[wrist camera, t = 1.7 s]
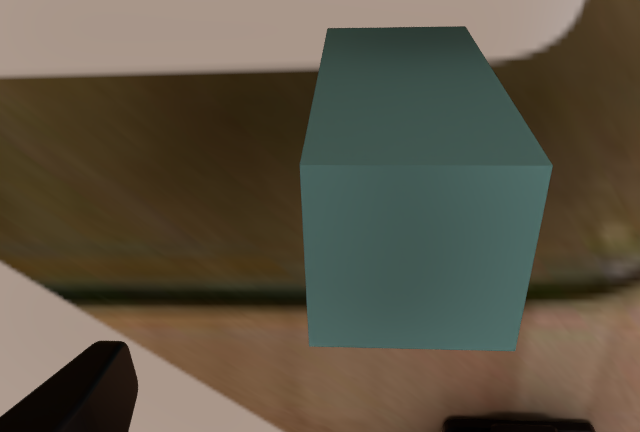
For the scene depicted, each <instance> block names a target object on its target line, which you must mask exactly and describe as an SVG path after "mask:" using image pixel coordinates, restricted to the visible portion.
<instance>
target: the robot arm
mask: <svg viewBox="0 0 640 432" xmlns="http://www.w3.org/2000/svg"><path fill="white" fill-rule="evenodd" d="M137 393H138V380H137V376H136V372H135V369H134V365H133V362H132V358H131V354H130V351H129V348H128V346H127V344H126V343H125V342H122V341H98V342H96V343H94V344H92V345H91V346H90V347H88V348H87V349H86V350H85V351H83V352H82V353H81V354H80V355H78V356H77V357H76V358H74V359H73V360H72V361H71V362H69V363H68V364H67V365H66V366H64V367H63V368H62V369H60V370H59V371H58V372H57V373H56V374H54V375H53V376H52V377H50V378H49V379H48V380H47V381H45V382H44V383H43V384H42V385H40V386H39V387H38V388H36V389H35V390H34V391H33V392H31V393H30V394H29V395H27V396H26V397H25V398H24V399H22V400H21V401H20V402H19V403H17V404H16V405H15V406H13V407H12V408H11V409H10V410H8V411H7V412H6V413H5V414H3V415H2V416H1V417H0V432H128V430H129V427H130V422H131V419H132V415H133V410H134V406H135V402H136V398H137ZM442 432H595V429H594V427H593V426H592V425H590V424H587V423H566V422H533V421H501V420H468V419H452V420H449V421H446V422H445V423H444V425H443V430H442Z"/></svg>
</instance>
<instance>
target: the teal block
mask: <svg viewBox="0 0 640 432" xmlns="http://www.w3.org/2000/svg"><path fill="white" fill-rule="evenodd" d="M552 167H553V165H552V164H551V162H550V160H549V159H548V157H547V156H546V154H545V152H544V151H543V149H542V148H541V146H540V145H539V143H538V141H537V140H536V138H535V137H534V135H533V133H532V132H531V130H530V129H529V127H528V125H527V124H526V122H525V121H524V119H523V117H522V116H521V114H520V113H519V111H518V110H517V108H516V106H515V105H514V103H513V102H512V100H511V98H510V97H509V95H508V94H507V92H506V90H505V89H504V87H503V86H502V84H501V83H500V81H499V79H498V78H497V76H496V75H495V73H494V71H493V70H492V68H491V67H490V65H489V63H488V62H487V60H486V59H485V57H484V55H483V54H482V52H481V51H480V49H479V48H478V46H477V44H476V43H475V41H474V40H473V38H472V36H471V35H470V33H469V32H468V30H467V28H466V27H398V28H397V27H395V28H394V27H393V28H328V29H327V34H326V39H325V44H324V49H323V53H322V58H321V63H320V68H319V73H318V78H317V83H316V88H315V93H314V98H313V102H312V107H311V112H310V117H309V122H308V127H307V132H306V137H305V142H304V146H303V151H302V156H301V161H300V181H301V200H302V219H303V238H304V257H305V276H306V295H307V315H308V334H309V346H314V347H357V348H400V349H443V350H487V351H515V349H516V344H517V339H518V334H519V329H520V324H521V319H522V314H523V310H524V305H525V300H526V295H527V290H528V285H529V280H530V275H531V270H532V265H533V260H534V255H535V251H536V246H537V241H538V236H539V231H540V226H541V221H542V216H543V211H544V206H545V201H546V197H547V192H548V187H549V182H550V177H551V172H552Z"/></svg>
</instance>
